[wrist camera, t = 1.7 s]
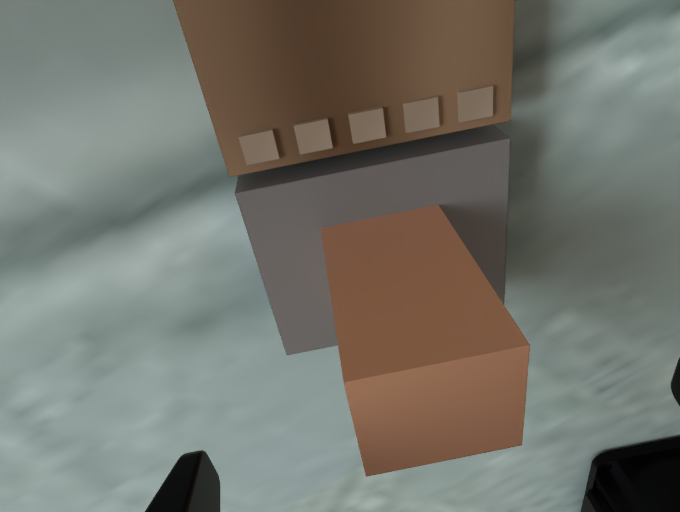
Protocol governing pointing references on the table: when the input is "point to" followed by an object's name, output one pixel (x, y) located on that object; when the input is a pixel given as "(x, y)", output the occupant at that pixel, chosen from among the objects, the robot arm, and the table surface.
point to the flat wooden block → (346, 73)
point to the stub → (400, 289)
